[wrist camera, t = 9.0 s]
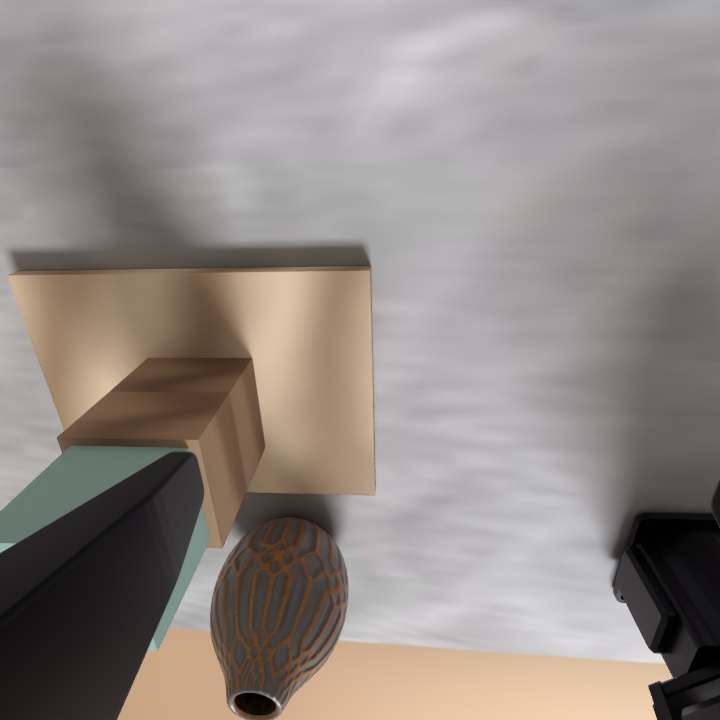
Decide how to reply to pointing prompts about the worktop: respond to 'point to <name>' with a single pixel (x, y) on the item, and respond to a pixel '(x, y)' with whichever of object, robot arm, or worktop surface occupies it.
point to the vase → (277, 613)
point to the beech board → (225, 353)
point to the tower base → (209, 378)
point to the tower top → (175, 441)
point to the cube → (83, 482)
